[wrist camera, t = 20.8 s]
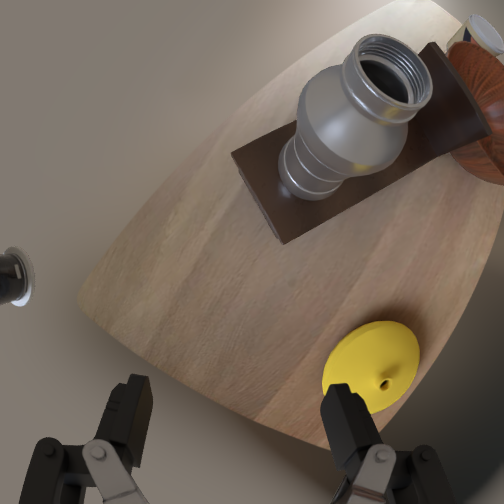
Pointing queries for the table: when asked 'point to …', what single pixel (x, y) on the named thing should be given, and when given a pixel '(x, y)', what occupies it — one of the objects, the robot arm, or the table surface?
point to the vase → (374, 363)
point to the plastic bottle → (354, 117)
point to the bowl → (482, 109)
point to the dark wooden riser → (360, 187)
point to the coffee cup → (479, 35)
